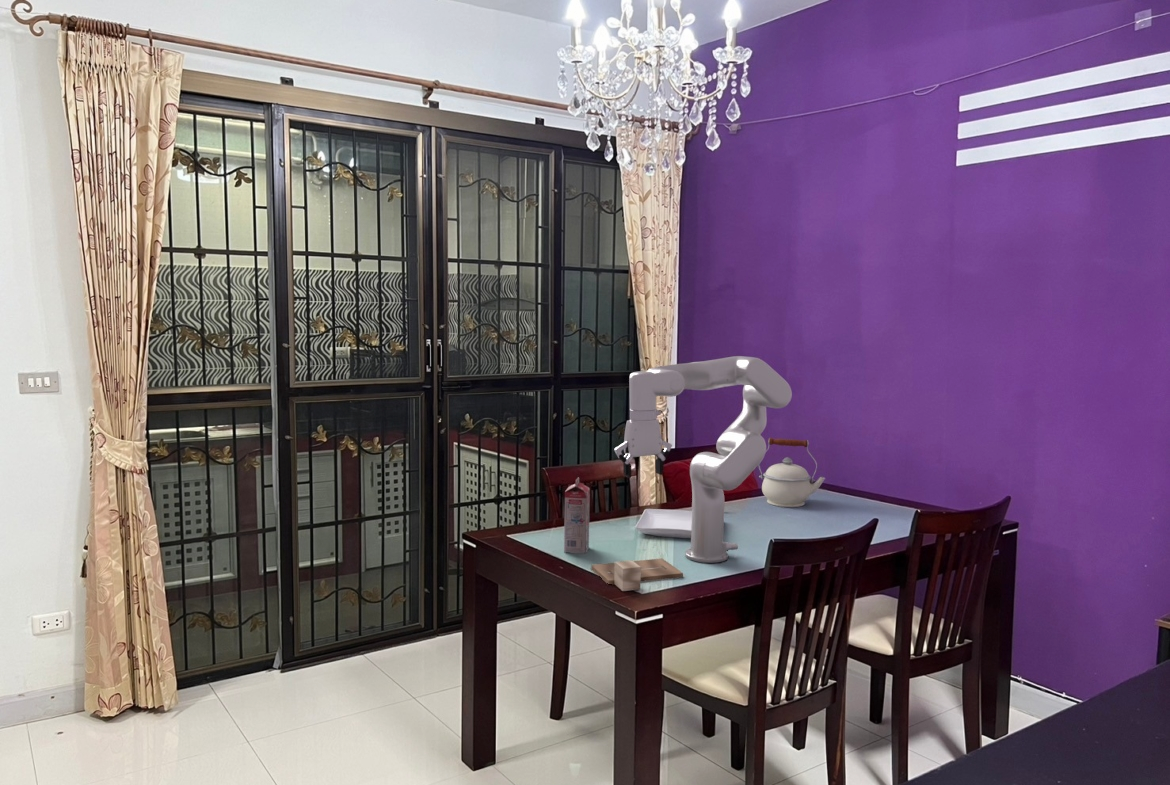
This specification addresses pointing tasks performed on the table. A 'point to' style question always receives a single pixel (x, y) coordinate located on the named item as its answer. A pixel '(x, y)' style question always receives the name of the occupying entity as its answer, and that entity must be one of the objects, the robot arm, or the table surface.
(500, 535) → the table surface
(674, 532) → the square plate
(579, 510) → the juice carton
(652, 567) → the board
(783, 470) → the kettle
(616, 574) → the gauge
